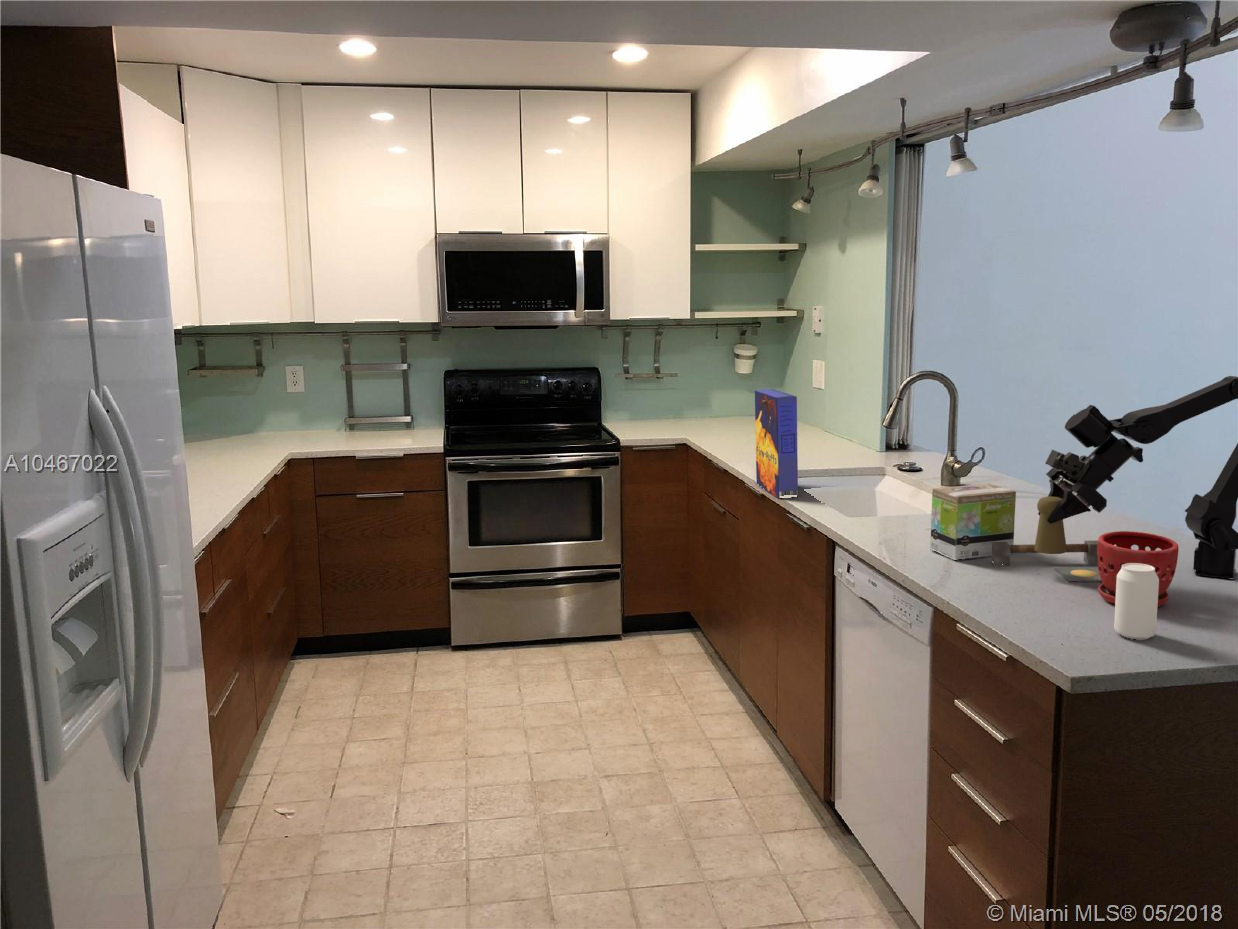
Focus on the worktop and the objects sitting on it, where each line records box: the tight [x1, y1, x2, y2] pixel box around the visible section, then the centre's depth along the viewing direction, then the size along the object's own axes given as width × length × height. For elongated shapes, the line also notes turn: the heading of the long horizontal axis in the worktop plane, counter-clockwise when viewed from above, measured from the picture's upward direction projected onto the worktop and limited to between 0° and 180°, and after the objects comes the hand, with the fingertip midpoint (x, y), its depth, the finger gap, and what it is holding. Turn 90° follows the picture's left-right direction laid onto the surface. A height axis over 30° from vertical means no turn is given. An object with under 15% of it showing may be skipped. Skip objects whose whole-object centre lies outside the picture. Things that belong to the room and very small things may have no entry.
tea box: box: [929, 483, 1017, 560], centre depth 210 cm, size 15×10×15 cm, turn 105°
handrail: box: [991, 540, 1103, 566], centre depth 201 cm, size 22×3×4 cm, turn 83°
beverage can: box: [1113, 563, 1159, 641], centre depth 158 cm, size 6×6×12 cm
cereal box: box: [754, 388, 799, 500], centre depth 282 cm, size 22×6×30 cm, turn 8°
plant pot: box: [1097, 530, 1179, 608], centre depth 174 cm, size 13×13×12 cm
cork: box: [1034, 496, 1067, 555], centre depth 190 cm, size 6×6×11 cm
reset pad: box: [1053, 566, 1103, 583], centre depth 192 cm, size 9×9×1 cm
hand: (1043, 518), depth 190 cm, fingers closed on cork, 5 cm apart
